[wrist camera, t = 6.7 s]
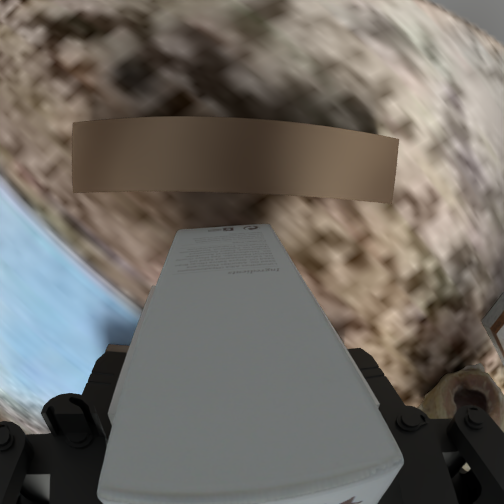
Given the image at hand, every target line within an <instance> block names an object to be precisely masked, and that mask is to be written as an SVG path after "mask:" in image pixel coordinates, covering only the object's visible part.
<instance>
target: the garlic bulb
mask: <svg viewBox="0 0 504 504" xmlns="http://www.w3.org/2000/svg"><path fill="white" fill-rule="evenodd" d="M467 405H472V406H477V407H479V408H481V409H483V410H484V411H485V412H487V413H488V414H489V415H490V417H491V418H492V419H493V420H494V421H495V423H496V424H497V425H498V426H499V427H500V429H501V430H502V431H503V432H504V395H503V393H502V392H501V389H500V388H499V387H498V386H497V385H496V383H495V382H494V381H493V379H492V378H491V377H490V375H489V374H488V373H486V372H484V367H483V365H482V364H481V363H479V364H476V365H468V366H466V367H465V368H464V369H462V370H460V371H457V372H454V373H449V374H446V375H444V376H443V377H442V378H441V379H440V381H439V383H438V384H437V385H436V386H435V387H434V388H433V389H432V390H431V391H430V392H429V393H427V394H426V395H425V397H424V401H423V402H422V403H421V404H420V405H419V407H418V409H420V410H422V411H423V412H424V413H425V414H427V416H428V417H429V418H430V419H448V418H453V416H454V415H455V413H456V411H457V410H458V409H459V408H461V407H462V406H467ZM462 468H463V469H464V470H465V471H469V470H470V469H471V468H470V467H469V465H468V464H467V462H466V464H465V465H464V466H463V467H462Z"/></svg>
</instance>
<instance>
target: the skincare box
mask: <svg viewBox="0 0 504 504" xmlns="http://www.w3.org/2000/svg"><path fill="white" fill-rule="evenodd" d="M403 464H404V459H403V455H402V453H401V451H400V449H399V447H398V445H397V443H396V441H395V439H394V437H393V435H392V433H391V431H390V430H389V428H388V426H387V424H386V422H385V420H384V418H383V417H382V415H381V413H380V411H379V409H378V407H377V405H376V404H375V402H374V400H373V398H372V396H371V394H370V392H369V391H368V389H367V387H366V385H365V384H364V382H363V380H362V378H361V377H360V375H359V373H358V371H357V370H356V368H355V366H354V365H353V363H352V361H351V359H350V358H349V356H348V354H347V353H346V351H345V349H344V348H343V346H342V344H341V343H340V341H339V339H338V338H337V336H336V334H335V332H334V330H333V329H332V327H331V325H330V324H329V322H328V320H327V318H326V317H325V315H324V313H323V312H322V310H321V308H320V306H319V305H318V303H317V301H316V300H315V298H314V297H313V295H312V293H311V292H310V290H309V288H308V287H307V285H306V283H305V282H304V280H303V278H302V277H301V275H300V273H299V272H298V270H297V268H296V267H295V265H294V263H293V262H292V260H291V258H290V257H289V255H288V253H287V252H286V250H285V248H284V247H283V245H282V243H281V242H280V240H279V238H278V237H277V235H276V234H275V232H274V230H273V229H272V227H271V226H270V224H253V225H236V226H223V227H208V228H195V229H180V230H178V231H177V233H176V235H175V238H174V240H173V243H172V246H171V248H170V251H169V253H168V256H167V258H166V261H165V264H164V266H163V269H162V271H161V274H160V277H159V279H158V282H157V284H156V287H155V290H154V293H153V295H152V299H151V302H150V304H149V307H148V310H147V313H146V316H145V319H144V322H143V325H142V327H141V330H140V333H139V337H138V340H137V343H136V346H135V349H134V353H133V356H132V359H131V362H130V365H129V368H128V372H127V375H126V379H125V382H124V385H123V388H122V391H121V395H120V399H119V402H118V406H117V410H116V414H115V417H114V421H113V425H112V429H111V432H110V436H109V440H108V444H107V448H106V453H105V457H104V462H103V466H102V470H101V474H100V479H99V484H98V489H97V496H98V499H99V500H100V501H101V502H102V503H103V504H377V503H378V502H379V500H380V499H381V497H382V496H383V494H384V493H385V492H386V490H387V489H388V488H389V486H390V485H391V483H392V481H393V480H394V478H395V477H396V475H397V474H398V472H399V470H400V469H401V467H402V466H403Z"/></svg>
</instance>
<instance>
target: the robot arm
mask: <svg viewBox="0 0 504 504" xmlns="http://www.w3.org/2000/svg"><path fill="white" fill-rule="evenodd" d="M155 287H156V286H152V288H151V290H150V293H149V295H148V298H147V300H146V303H145V306H144V308H143V311H142V314H141V316H140V319H139V322H138V324H137V327H136V330H135V332H134V335H133V338H132V341H131V344H130V346H129V349H128V352H127V353H126V352H113V351H106V352H105V353H104V354H103V355H102V356H101V357H100V358H99V359H98V360H97V361H96V363H95V365H94V368H93V370H92V374H90V377H89V379H88V383H87V384H86V386H85V388H84V391H83V393H82V395H80V394H73V393H68V394H61V395H58V396H56V397H54V398H52V399H50V400H49V401H48V402H47V403H46V404H45V405H44V407H43V409H42V412H41V414H42V416H43V418H44V420H45V422H46V424H47V426H48V428H49V430H50V431H51V433H48V434H30V435H25V433H24V432H23V430H22V429H21V428H20V426H18V425H17V424H15V423H13V422H7V421H3V422H0V504H103V503H102V502H101V501H100V500H99V499H98V496H97V489H98V484H99V479H100V474H101V470H102V466H103V462H104V457H105V453H106V448H107V444H108V440H109V436H110V432H111V429H112V425H113V421H114V417H115V414H116V410H117V406H118V402H119V399H120V395H121V391H122V388H123V385H124V382H125V379H126V375H127V372H128V368H129V365H130V362H131V359H132V356H133V353H134V349H135V346H136V343H137V340H138V337H139V333H140V330H141V327H142V325H143V322H144V319H145V316H146V313H147V310H148V307H149V304H150V302H151V299H152V295H153V293H154V290H155ZM308 288H309V287H308ZM309 290H310V289H309ZM310 292H311V291H310ZM311 293H312V292H311ZM312 295H313V294H312ZM313 297H314V295H313ZM314 298H315V297H314ZM315 300H316V299H315ZM316 301H317V300H316ZM317 303H318V302H317ZM318 305H319V303H318ZM319 306H320V305H319ZM320 308H321V307H320ZM321 310H322V308H321ZM322 312H323V313H324V311H323V310H322ZM324 315H325V313H324ZM325 317H326V318H327V316H326V315H325ZM327 320H328V322H329V324H330V325H331V327H332V329H333V330H334V332H335V334H336V336H337V338H338V339H339V341H340V343H341V344H342V346H343V348H344V349H345V351H346V353H347V354H348V356H349V358H350V359H351V361H352V363H353V365H354V366H355V368H356V370H357V371H358V373H359V375H360V377H361V378H362V380H363V382H364V384H365V385H366V387H367V389H368V391H369V392H370V394H371V396H372V398H373V400H374V402H375V404H376V405H377V407H378V409H379V411H380V413H381V415H382V417H383V418H384V420H385V422H386V424H387V426H388V428H389V430H390V431H391V433H392V435H393V437H394V439H395V441H396V443H397V445H398V447H399V449H400V451H401V453H402V455H403V459H404V464H403V466H402V467H401V469H400V470H399V472H398V474H397V475H396V477H395V478H394V480H393V481H392V483H391V485H390V486H389V488H388V489H387V490H386V492H385V493H384V494H383V496H382V497H381V499H380V500H379V502H378V503H377V504H504V432H503V431H502V430H501V429H500V427H499V426H498V425H497V424H496V423H495V421H494V420H493V419H492V418H491V417H490V415H489V414H488V413H487V412H485V411H484V410H483V409H481V408H479V407H477V406H472V405H467V406H462V407H461V408H459V409H458V410H457V411H456V413H455V415H454V416H453V418H448V419H430V418H429V417H428V416H427V414H425V413H424V412H423V411H422V410H420V409H418V408H415V407H413V406H405V404H404V403H403V401H402V400H401V398H400V397H399V395H398V394H397V392H396V391H395V389H394V388H393V386H392V385H391V383H390V382H389V380H388V379H387V377H386V376H384V373H383V372H382V370H381V369H380V368H379V366H378V364H377V363H376V361H375V360H374V358H373V357H372V356H371V355H370V354H368V353H367V352H365V351H364V350H363V349H361V348H355V349H347V348H346V347H345V345H344V344H343V342H342V340H341V339H340V337H339V335H338V334H337V332H336V331H335V329H334V327H333V326H332V324H331V323H330V321H329V319H328V318H327ZM466 462H467V464H468V465H469V467H470V468H471V469H470V470H469V471H465V470H464V469H463V468H462V467H463V466H464V465H465V464H466Z"/></svg>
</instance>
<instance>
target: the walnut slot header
mask: <svg viewBox="0 0 504 504" xmlns="http://www.w3.org/2000/svg"><path fill="white" fill-rule="evenodd" d="M398 145H399V139H396V138H391V137H387V136H381V135H376V134H371V133H366V132H360V131H354V130H348V129H341V128H335V127H328V126H321V125H313V124H305V123H296V122H286V121H276V120H263V119H249V118H231V117H198V116H169V117H136V118H119V119H105V120H94V121H84V122H74V123H73V131H72V183H73V193H86V192H134V191H175V192H225V193H252V194H273V195H291V196H307V197H321V198H334V199H346V200H358V201H369V202H379V203H389V204H392V199H393V191H394V183H395V175H396V166H397V156H398ZM128 349H129V346H126V345H114V344H109V345H108V347H107V349H106V351H113V352H126V353H127V352H128ZM106 351H105V352H106Z"/></svg>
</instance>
